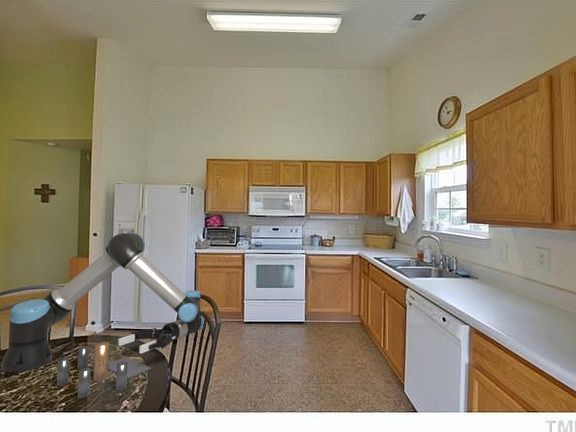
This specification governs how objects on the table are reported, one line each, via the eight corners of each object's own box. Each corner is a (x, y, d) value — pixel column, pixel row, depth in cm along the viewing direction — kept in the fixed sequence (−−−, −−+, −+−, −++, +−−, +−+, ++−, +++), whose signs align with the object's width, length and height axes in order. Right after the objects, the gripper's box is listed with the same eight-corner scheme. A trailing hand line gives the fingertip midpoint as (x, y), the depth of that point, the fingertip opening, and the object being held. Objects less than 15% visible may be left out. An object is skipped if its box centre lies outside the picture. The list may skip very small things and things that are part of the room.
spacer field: (47, 379, 109) (48, 356, 109) (84, 366, 119) (85, 345, 120) (90, 404, 94) (91, 377, 95) (128, 387, 105) (129, 363, 105)
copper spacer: (90, 378, 110) (92, 344, 110) (103, 373, 114) (105, 340, 114) (97, 382, 108) (99, 347, 108) (110, 377, 111) (111, 343, 112)
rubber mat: (101, 366, 119) (102, 365, 119) (124, 358, 127) (124, 357, 127) (128, 378, 111) (128, 377, 111) (150, 369, 118) (150, 367, 118)
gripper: (194, 344, 131) (149, 363, 113) (156, 333, 144) (110, 348, 126) (194, 326, 132) (149, 342, 113) (156, 317, 144) (111, 330, 126)
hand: (128, 346), depth 119 cm, fingers open, 13 cm apart
